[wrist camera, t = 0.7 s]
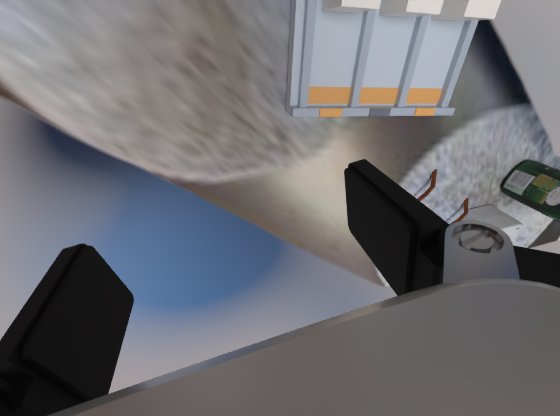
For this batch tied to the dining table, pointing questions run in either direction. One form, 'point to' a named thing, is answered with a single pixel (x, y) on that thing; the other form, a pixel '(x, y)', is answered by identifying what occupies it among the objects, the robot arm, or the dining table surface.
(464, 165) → the dining table surface
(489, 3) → the white block
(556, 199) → the coffee jar
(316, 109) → the switch bank
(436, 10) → the off-white block
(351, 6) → the light grey block
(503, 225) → the product box
